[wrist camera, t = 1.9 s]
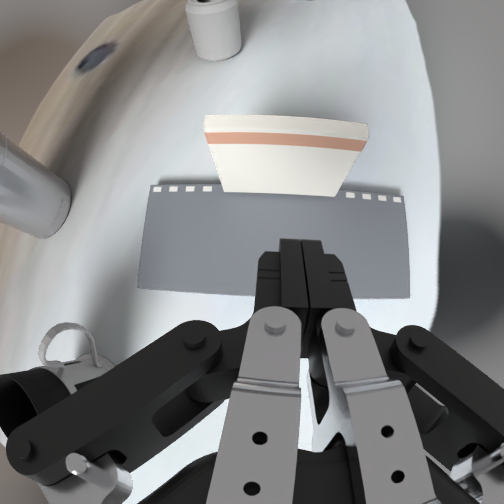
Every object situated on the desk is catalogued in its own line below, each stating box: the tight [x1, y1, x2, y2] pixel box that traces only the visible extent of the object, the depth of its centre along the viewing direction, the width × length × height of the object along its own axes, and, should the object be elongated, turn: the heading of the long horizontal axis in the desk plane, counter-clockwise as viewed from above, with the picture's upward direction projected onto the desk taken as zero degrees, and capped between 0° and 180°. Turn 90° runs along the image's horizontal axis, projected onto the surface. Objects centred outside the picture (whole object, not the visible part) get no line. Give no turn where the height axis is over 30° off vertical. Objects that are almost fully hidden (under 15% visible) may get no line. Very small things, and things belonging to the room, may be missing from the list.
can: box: [185, 0, 242, 61], centre depth 33 cm, size 8×8×12 cm
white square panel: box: [203, 115, 369, 197], centre depth 25 cm, size 12×1×12 cm, turn 87°
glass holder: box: [0, 322, 115, 438], centre depth 22 cm, size 9×14×15 cm, turn 152°
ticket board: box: [137, 184, 410, 299], centre depth 31 cm, size 30×12×2 cm, turn 87°
